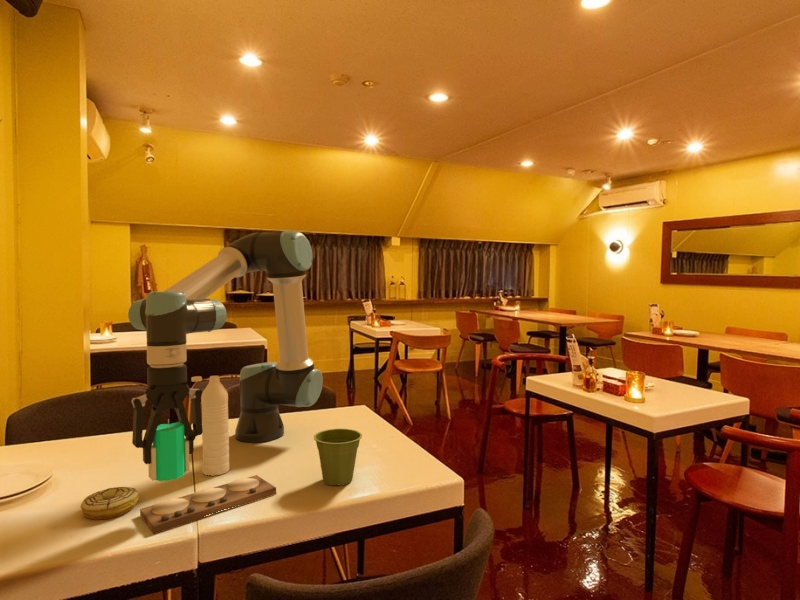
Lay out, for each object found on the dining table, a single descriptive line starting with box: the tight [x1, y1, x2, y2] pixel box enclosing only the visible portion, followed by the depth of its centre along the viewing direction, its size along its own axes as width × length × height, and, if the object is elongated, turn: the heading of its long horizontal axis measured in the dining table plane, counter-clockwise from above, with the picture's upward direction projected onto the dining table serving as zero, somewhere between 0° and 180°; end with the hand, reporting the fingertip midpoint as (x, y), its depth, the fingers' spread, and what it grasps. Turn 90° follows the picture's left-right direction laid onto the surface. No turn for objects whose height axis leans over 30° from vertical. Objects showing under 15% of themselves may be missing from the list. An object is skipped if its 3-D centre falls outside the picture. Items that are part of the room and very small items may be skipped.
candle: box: [152, 418, 186, 482], centre depth 100 cm, size 6×6×12 cm
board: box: [139, 475, 277, 535], centre depth 105 cm, size 10×26×2 cm, turn 132°
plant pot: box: [313, 428, 363, 486], centre depth 118 cm, size 12×12×11 cm
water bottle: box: [190, 375, 230, 477], centre depth 123 cm, size 9×6×25 cm
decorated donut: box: [79, 486, 140, 520], centre depth 103 cm, size 10×11×4 cm
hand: (169, 473), depth 101 cm, fingers closed on candle, 6 cm apart
